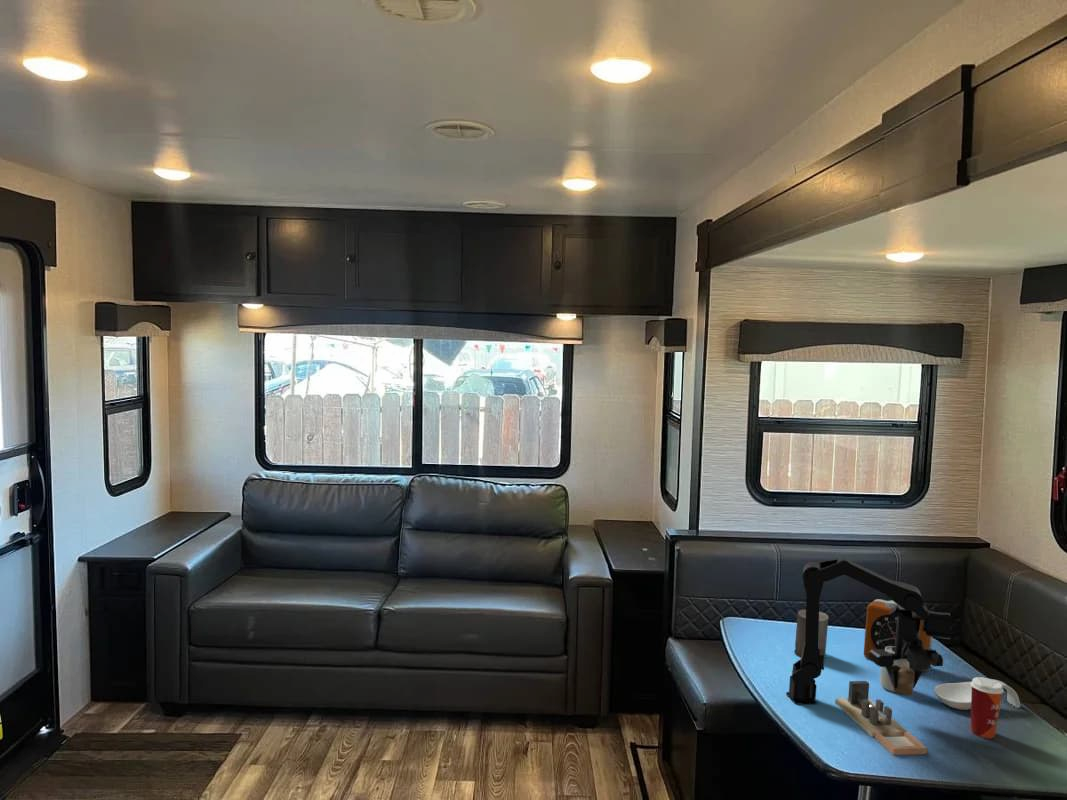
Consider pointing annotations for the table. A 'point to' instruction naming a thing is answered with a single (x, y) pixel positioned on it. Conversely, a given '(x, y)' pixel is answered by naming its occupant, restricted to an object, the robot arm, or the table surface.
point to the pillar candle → (801, 631)
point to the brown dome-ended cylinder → (905, 681)
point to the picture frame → (902, 744)
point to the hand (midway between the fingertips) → (903, 687)
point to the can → (885, 677)
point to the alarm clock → (885, 627)
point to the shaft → (863, 697)
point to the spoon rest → (967, 695)
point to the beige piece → (871, 717)
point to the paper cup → (985, 706)
